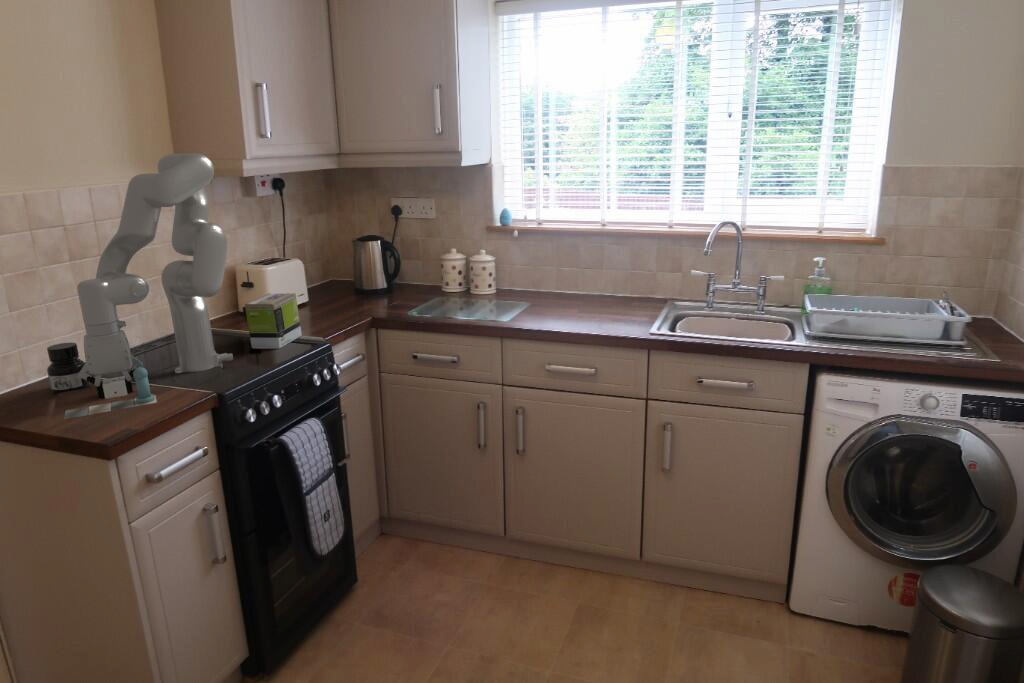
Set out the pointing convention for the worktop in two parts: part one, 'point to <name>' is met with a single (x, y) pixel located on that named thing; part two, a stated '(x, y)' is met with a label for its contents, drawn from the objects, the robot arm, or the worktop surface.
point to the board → (104, 408)
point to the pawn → (142, 385)
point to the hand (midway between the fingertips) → (116, 396)
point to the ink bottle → (65, 368)
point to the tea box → (273, 320)
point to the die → (114, 387)
